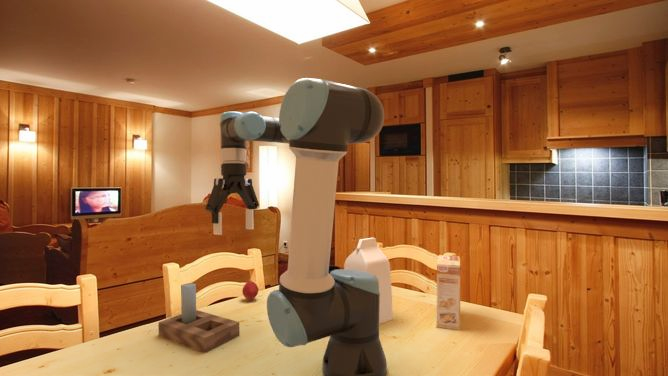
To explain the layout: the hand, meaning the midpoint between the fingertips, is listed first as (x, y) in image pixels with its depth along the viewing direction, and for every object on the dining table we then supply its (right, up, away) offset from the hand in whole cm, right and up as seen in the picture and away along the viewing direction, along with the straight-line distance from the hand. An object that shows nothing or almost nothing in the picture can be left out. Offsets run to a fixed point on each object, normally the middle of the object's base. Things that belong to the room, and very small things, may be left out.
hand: (234, 231), depth 110 cm
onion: (-1, -29, +23) cm, 37 cm away
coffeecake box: (+68, -29, +4) cm, 74 cm away
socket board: (-8, -29, -7) cm, 31 cm away
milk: (+42, -29, +6) cm, 51 cm away
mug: (+29, -29, +37) cm, 55 cm away
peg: (-12, -29, -5) cm, 32 cm away
